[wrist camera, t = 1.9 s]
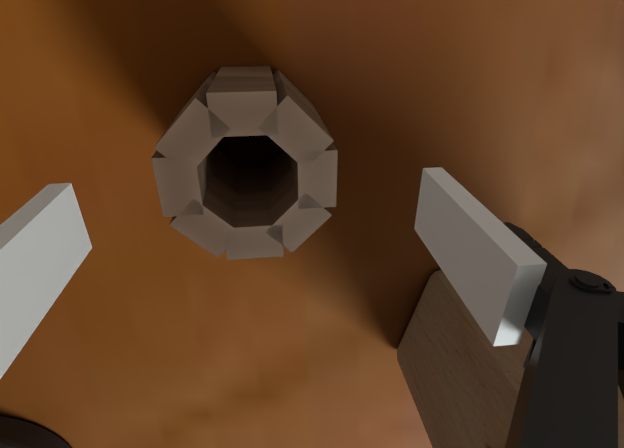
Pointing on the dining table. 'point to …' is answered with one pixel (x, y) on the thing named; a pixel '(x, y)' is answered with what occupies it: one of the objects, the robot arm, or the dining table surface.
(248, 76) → the walnut bead
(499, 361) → the wooden block
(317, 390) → the dining table surface
